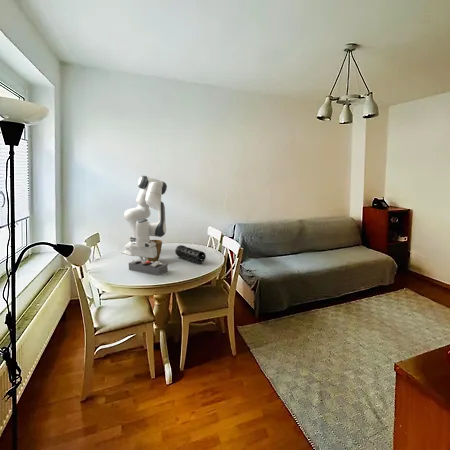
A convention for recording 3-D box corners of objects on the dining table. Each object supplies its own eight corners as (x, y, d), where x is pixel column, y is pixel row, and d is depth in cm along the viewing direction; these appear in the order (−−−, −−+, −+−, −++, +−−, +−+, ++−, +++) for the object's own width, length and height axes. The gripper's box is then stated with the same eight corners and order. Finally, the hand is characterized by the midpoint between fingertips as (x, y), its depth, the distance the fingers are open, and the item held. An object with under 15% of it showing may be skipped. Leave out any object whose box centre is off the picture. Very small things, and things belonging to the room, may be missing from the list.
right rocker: (151, 267, 203) (150, 264, 202) (156, 263, 208) (156, 260, 207) (155, 267, 201) (154, 265, 201) (160, 263, 206) (160, 261, 206)
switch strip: (128, 269, 211) (128, 262, 210) (138, 265, 220) (138, 258, 219) (158, 275, 200) (158, 267, 199) (167, 270, 209) (167, 263, 208)
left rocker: (132, 262, 209) (132, 259, 209) (138, 261, 214) (138, 259, 214) (136, 263, 207) (136, 260, 207) (142, 262, 213) (142, 260, 213)
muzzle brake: (196, 266, 221) (196, 252, 219) (174, 258, 240) (173, 245, 238) (206, 263, 227) (206, 250, 225) (183, 255, 247) (183, 243, 245)
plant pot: (166, 260, 233) (166, 240, 230) (153, 265, 220) (152, 244, 217) (152, 257, 240) (151, 238, 237) (138, 262, 227) (137, 242, 224)
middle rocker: (141, 264, 205) (141, 261, 205) (147, 263, 211) (147, 260, 211) (145, 264, 204) (145, 262, 204) (151, 263, 209) (151, 261, 209)
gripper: (127, 242, 204) (128, 262, 206) (152, 245, 195) (152, 265, 197) (134, 240, 209) (135, 259, 211) (158, 243, 201) (158, 263, 203)
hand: (143, 262), depth 204 cm, fingers closed, pressing on middle rocker
